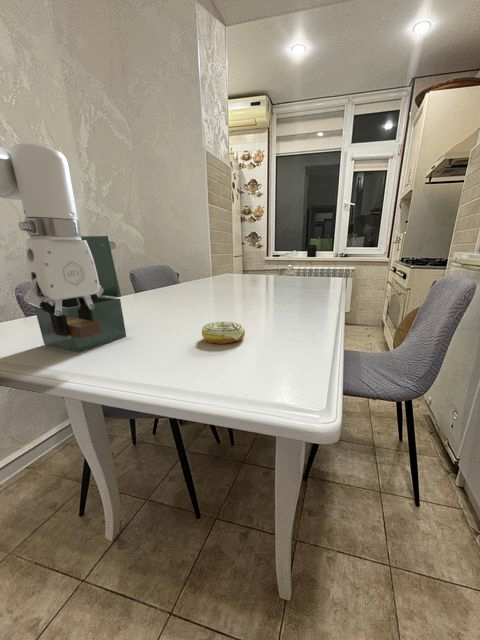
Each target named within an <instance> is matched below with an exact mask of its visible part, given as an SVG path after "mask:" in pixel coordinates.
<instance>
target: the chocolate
mask: <svg viewBox="0 0 480 640" xmlns="http://www.w3.org/2000/svg"><path fill="white" fill-rule="evenodd" d="M66 319H67V324H68V328H69V333H70V335H69V336H71V337H76V338H80V339H82V338H85V337H89V336H92V335H96V334H100V333H101V329H100V323H99V322H95V321H89V320H85V319H78V318H73V317H66ZM48 323H49V328H50V332H53V333H55V331H54V330H53V326H52V322H51V321H48Z"/></svg>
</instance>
